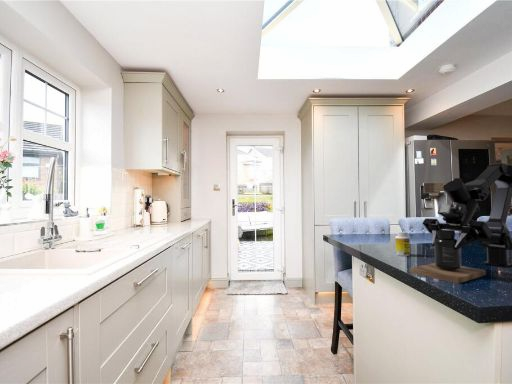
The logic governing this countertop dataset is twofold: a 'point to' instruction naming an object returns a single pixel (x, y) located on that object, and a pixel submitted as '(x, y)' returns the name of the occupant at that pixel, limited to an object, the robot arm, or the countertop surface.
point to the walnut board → (448, 273)
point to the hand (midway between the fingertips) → (443, 247)
